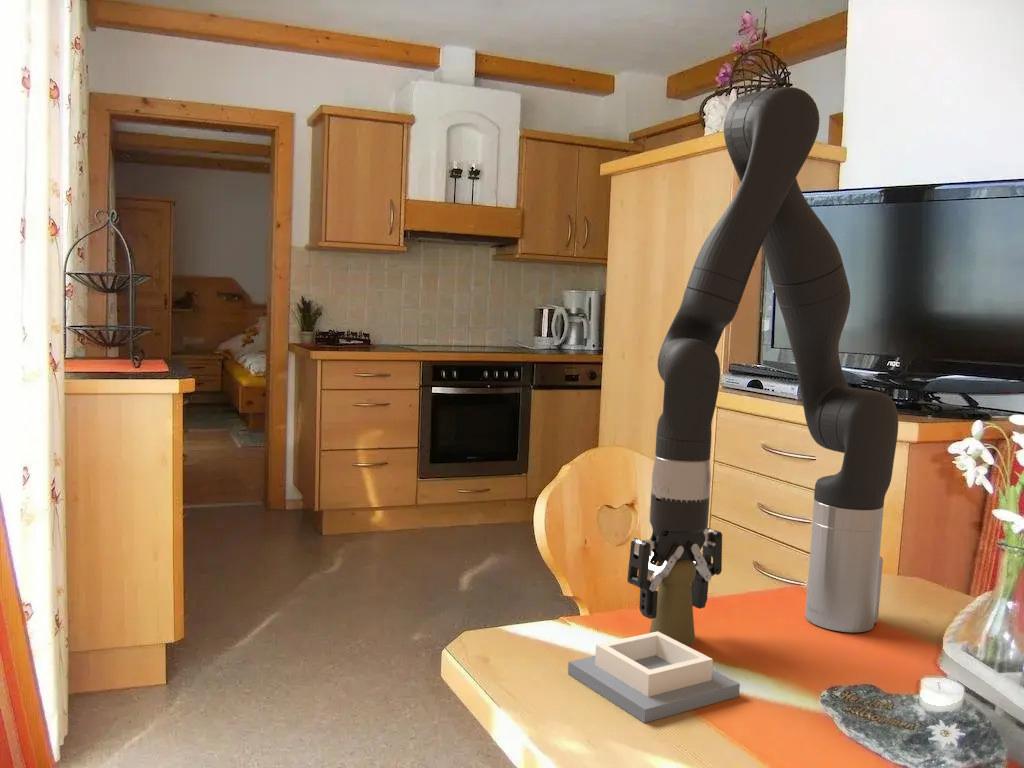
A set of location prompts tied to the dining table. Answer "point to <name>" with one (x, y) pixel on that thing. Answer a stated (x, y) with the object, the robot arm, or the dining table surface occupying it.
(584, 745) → the dining table surface
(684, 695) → the board
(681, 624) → the olive brown knobbed peg
